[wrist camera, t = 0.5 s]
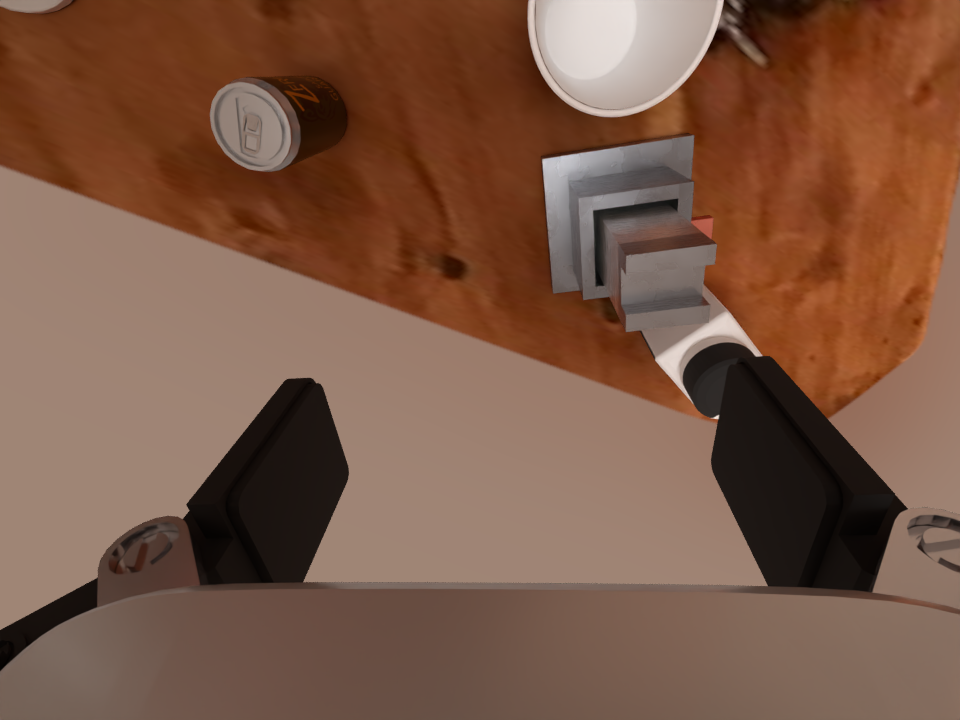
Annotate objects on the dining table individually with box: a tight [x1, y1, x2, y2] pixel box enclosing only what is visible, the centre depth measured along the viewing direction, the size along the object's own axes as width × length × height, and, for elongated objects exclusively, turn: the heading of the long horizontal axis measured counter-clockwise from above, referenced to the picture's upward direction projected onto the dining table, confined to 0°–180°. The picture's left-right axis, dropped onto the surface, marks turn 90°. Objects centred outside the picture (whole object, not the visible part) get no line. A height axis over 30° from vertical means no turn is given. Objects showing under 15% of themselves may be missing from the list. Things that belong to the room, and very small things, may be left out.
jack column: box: [593, 201, 717, 332], centre depth 35 cm, size 5×5×15 cm
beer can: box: [210, 76, 346, 172], centre depth 34 cm, size 5×5×12 cm
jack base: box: [541, 133, 713, 300], centre depth 39 cm, size 12×12×8 cm
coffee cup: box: [528, 0, 724, 117], centre depth 30 cm, size 10×10×12 cm
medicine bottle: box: [640, 284, 762, 419], centre depth 43 cm, size 7×7×12 cm
